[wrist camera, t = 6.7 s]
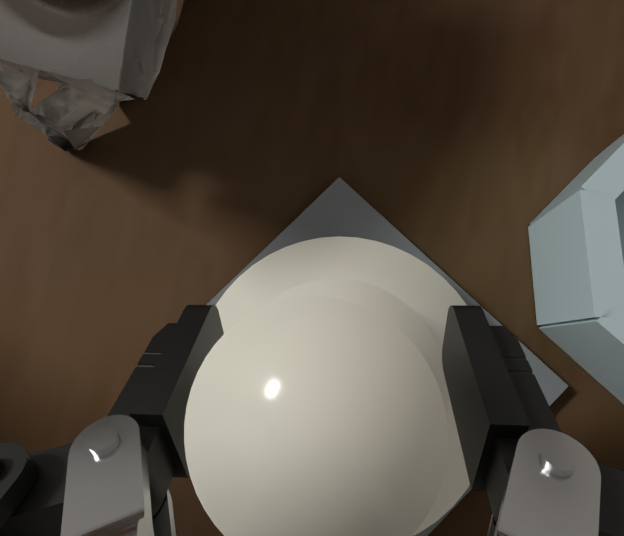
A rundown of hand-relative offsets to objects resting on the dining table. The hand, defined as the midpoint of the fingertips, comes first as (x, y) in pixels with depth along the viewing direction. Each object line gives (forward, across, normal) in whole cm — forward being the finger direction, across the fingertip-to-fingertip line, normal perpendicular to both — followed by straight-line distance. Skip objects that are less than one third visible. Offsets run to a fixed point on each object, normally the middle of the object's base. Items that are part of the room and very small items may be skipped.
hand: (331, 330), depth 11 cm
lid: (+3, 0, -5) cm, 6 cm away
